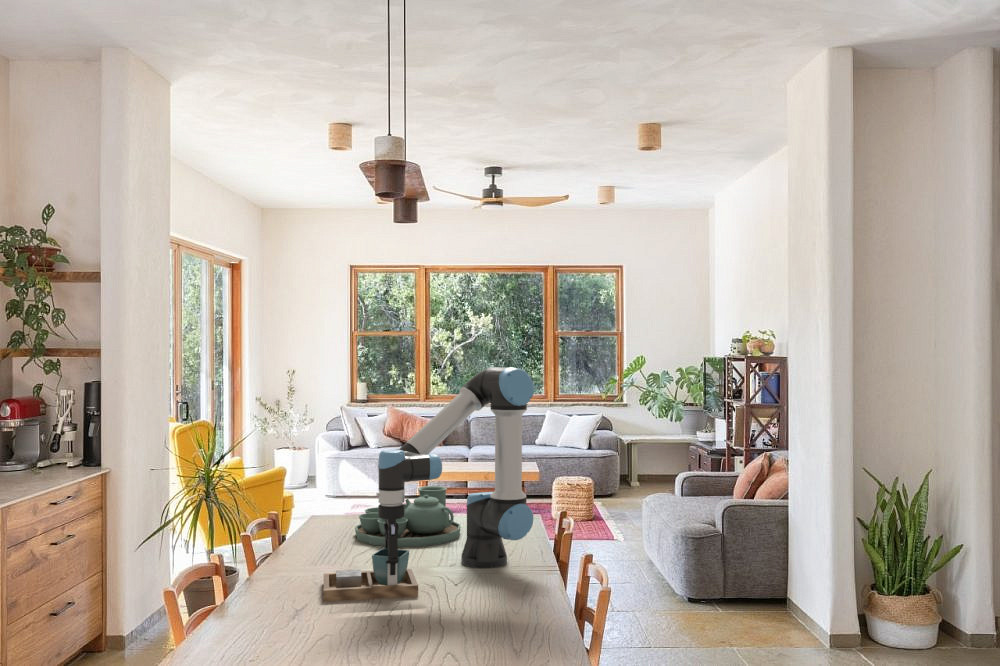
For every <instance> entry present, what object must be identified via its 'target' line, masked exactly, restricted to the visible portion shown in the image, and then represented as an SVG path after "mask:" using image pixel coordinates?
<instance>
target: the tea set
mask: <svg viewBox="0 0 1000 666" xmlns="http://www.w3.org/2000/svg"><path fill="white" fill-rule="evenodd" d="M417 490H418V492H419V497H416V498H414V500H413V502H411V501H410V499H409V498H406V499H405V501H404V502H405V503H403V504H404V517H403V518H400V519H396V523H398V526H399V529H398V539H397V541H398V548H414V547H415V548H416V547H427V546H434V545H441V544H446V543H448V542H451V541H453V540H455V539H456V540H457V539H458V538H459V536H460V532H461V524H460V523H458V522H455V521H454V519H455V516H454V513H453V510H452V509H451V508H450V507H448V506H447V505H446V504H447V502H446V501H447V500H446V499H447V492H446V491H447V490H448V488H447V486H442V485H427V486H426V485H425V486H424V485H423V486H419V487H418V488H417ZM364 512H365V513H361V514H360V515H359V514H358V518H359V522H360V523H359V524H358V525H356V526H355V527H354V531H355V535H356V538H357V541H360V542H362V543H365V544H366V543H367V544H370V545H372V546H381V547H384V546H385V534H384V523H385V519H381V518H379V517H378V507H377V506H376V507H369V508H366V509H365V510H364Z"/></svg>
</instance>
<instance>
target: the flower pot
mask: <svg viewBox="0 0 1000 666" xmlns="http://www.w3.org/2000/svg"><path fill="white" fill-rule="evenodd" d="M409 558H410V550H408V549H398V562H397V585H398V584H399V583H400V582H401V581H402V579H403V577H404V575H405V573H406V570H407V569H408V566H409V565H408V564H409ZM386 561H388V549H385V548H381V549H379V550H378V551H376V552H375V553H373V554H372V555H371V562H372V571H374V575H375V578H376V580H377V582H378V583H379V584H380V585H387V583H388V564H386Z"/></svg>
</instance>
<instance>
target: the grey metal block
mask: <svg viewBox="0 0 1000 666" xmlns="http://www.w3.org/2000/svg"><path fill="white" fill-rule="evenodd" d="M335 573H336V588H351V587H361V579H362V576H361V569H343V570H336V571H335Z"/></svg>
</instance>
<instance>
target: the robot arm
mask: <svg viewBox="0 0 1000 666" xmlns="http://www.w3.org/2000/svg"><path fill="white" fill-rule="evenodd" d="M534 392H535V386H534V382H533V379H532V377H531V376H530V374H529V373H528V372H527V371H525V370H524V369H522V368H517V367H513V366H510V367H503V366H502V367H497V366H496V367H495V366H491V367H487V368H485V369H483V370H481V371H479V372H478V373H477V374H476V375H474V376H473V377H471V378H470V379H469V380H467V382H465V383H464V385H463V386H461V387H460V389H459V392H458V394H457V395H456V396H455V397H454V398H453V399H451V401H449V403H448V404H446V406H444V407H443V408H442V409H441V410H440V411H439V412H438V413H436V415H435V416H433V417H432V418H431V419H430V420H429V421H428V422H427V423H426V424H424V425H423V427H421V429H419V430H418V431H417V432H416V433H415V434H413V436H412V437H411V438H410V439H408V441H406V442H405V443H404V444H403V445H402V446H401V447H400V448H395V449H383V450H382V451H380V452H379V454H378V466H377V468H378V492H376V494H375V495H376V497H378V503H379V505H378V517H379V518H381V519H385V523H384V534H385V546H383V549H388V561H386V564H388V583H387V586H388V585H397V562H398V550H399V549H398V548H399V547H398V541H397V539H398V529H399V526H398V523H396V519H400V518H403V517H404V504H405V502H406V501H405V500H406V499H405V498H406V497H405V496H406V494H405V485H406V484H405V483H409V482H419V481H431V480H437V479H439V478H440V477H441V475H442V472H443V463H442V459H441V457H440V456H439V455H438V454H435V453H433V454H431V452H432V451H434V450H435V449H436V448H437V447H438V446H440V444H441V443H442V442H443V441H444V440H445V439H446V438H448V437H449V435H451V434H452V433H453V432H454V431H455V430H456V429H457V428H458V427H459V426H460V425H461V424H463V422H464V421H465V420H467V419H468V418H469V416H471V415H472V414H473V413H474V412H475V411H477V412H478V411H481V410H482V409H483V408H484V407H486V406H487V405H490V411H491V412H492V413H493V415H494V417H495V418H494V419H495V421H494V425H495V427H494V428H495V432H494V440H495V441H494V456H495V457H494V491H486V492H485V491H484V492H473V493H470V494H468V496H467V498H466V541H465V544H464V547H463V549H462V553H461V559H460V560H461V561H460V563H461V564H462V565H464V566H465V567H466V566H467V567H470V568H477V569H478V568H479V569H481V568H482V569H489V568H491V569H492V568H498V567H502V566H504V565H507V563H508V555H507V551H506V549H505V546H504V542H503V539H504V540H507V541H518V540H522V539H523V538H525V537H526V536H527V534H528V533H529V532H531V529H532V527H533V524H534V513H533V510H532V509H531V508H530V507H529V505H527V494H526V493H525V492H524V491H523V415H524V413H526V412H527V410H528V403H529V402H530V401H531V399H532V398H533V397H534Z"/></svg>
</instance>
